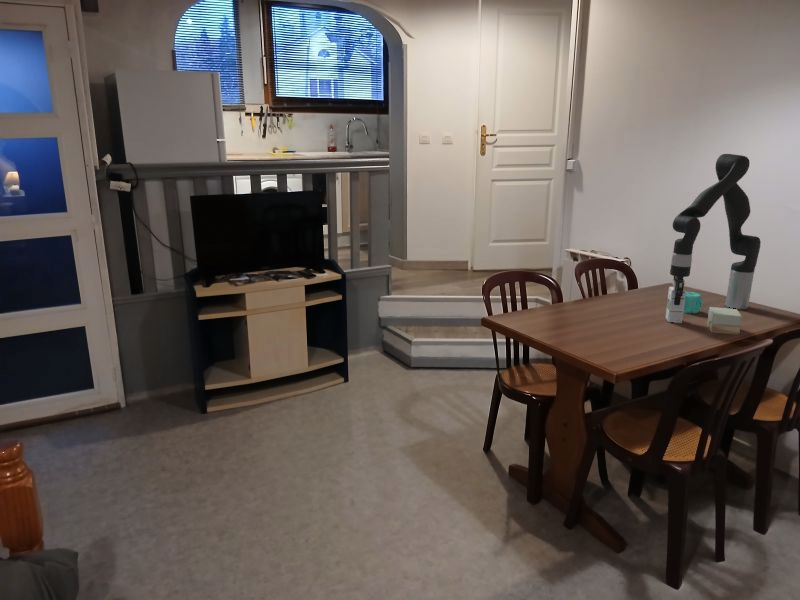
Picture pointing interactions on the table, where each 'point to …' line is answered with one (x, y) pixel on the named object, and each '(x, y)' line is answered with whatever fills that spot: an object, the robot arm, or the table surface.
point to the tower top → (724, 316)
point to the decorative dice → (692, 302)
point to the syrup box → (675, 307)
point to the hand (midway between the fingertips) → (675, 302)
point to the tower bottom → (723, 328)
